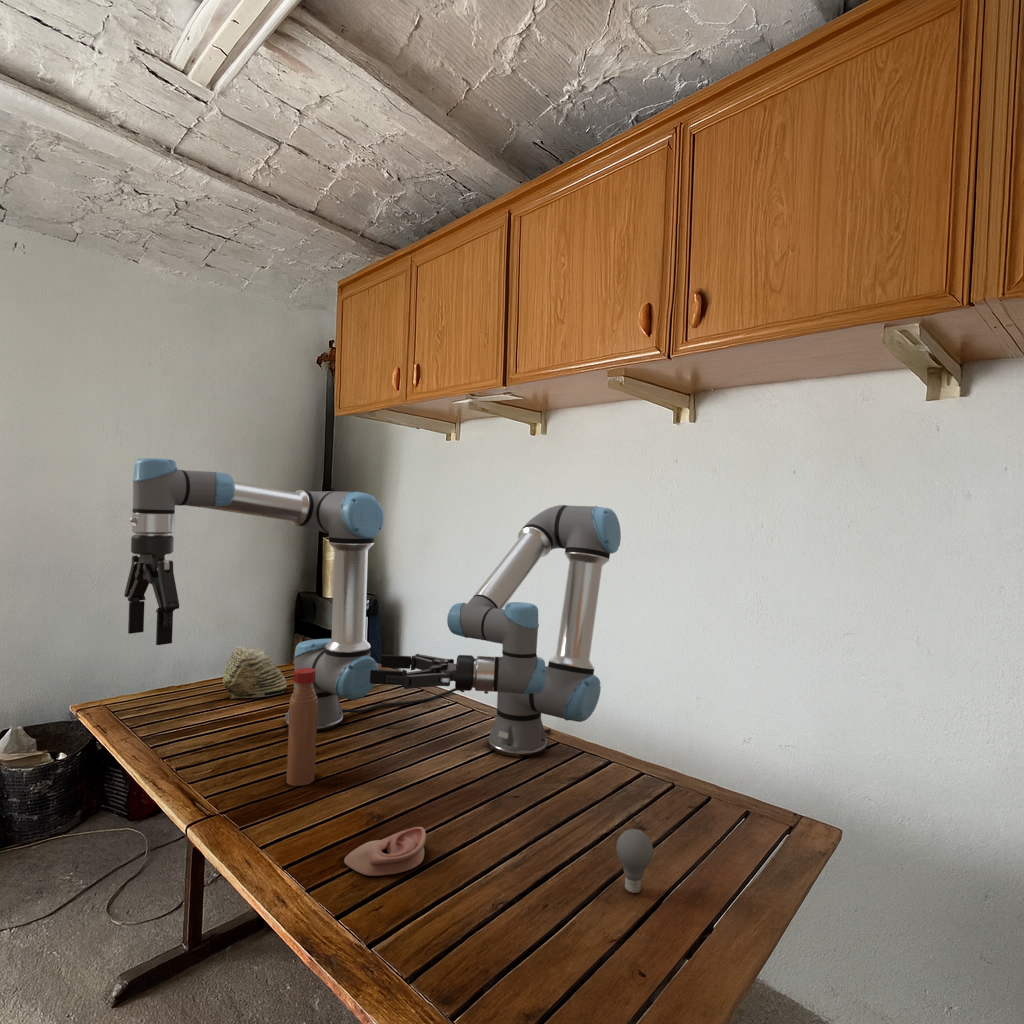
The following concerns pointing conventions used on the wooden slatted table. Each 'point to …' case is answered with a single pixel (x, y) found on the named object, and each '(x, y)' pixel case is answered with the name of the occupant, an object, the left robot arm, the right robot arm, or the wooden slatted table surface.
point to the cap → (304, 675)
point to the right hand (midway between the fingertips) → (376, 668)
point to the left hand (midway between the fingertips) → (149, 638)
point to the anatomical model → (389, 853)
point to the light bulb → (634, 857)
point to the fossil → (252, 674)
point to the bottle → (302, 735)
